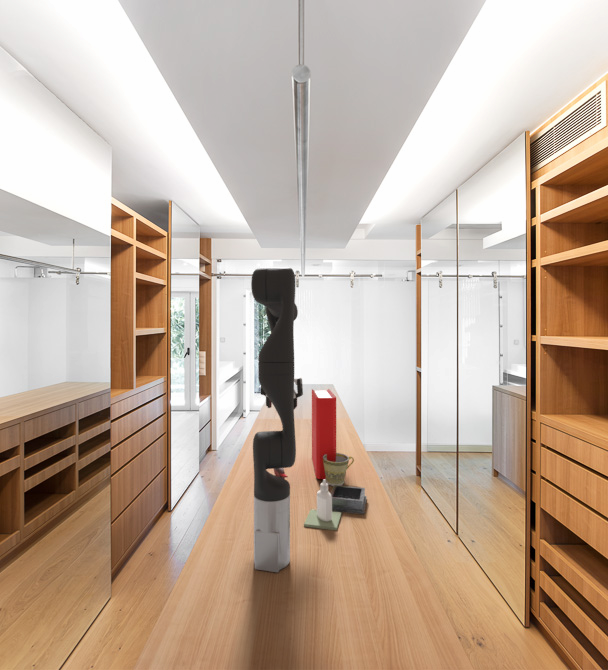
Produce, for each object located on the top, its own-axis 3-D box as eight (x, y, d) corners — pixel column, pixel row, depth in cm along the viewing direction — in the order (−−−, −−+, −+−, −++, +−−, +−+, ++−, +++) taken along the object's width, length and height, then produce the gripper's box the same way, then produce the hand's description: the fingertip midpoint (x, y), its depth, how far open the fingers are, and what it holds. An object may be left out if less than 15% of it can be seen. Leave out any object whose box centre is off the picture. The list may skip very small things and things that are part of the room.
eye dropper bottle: (318, 522, 119) (318, 483, 119) (316, 514, 124) (316, 476, 124) (332, 522, 119) (332, 483, 119) (330, 513, 125) (330, 476, 125)
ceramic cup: (329, 490, 145) (330, 463, 145) (318, 479, 154) (318, 454, 154) (359, 484, 150) (360, 459, 150) (346, 474, 159) (347, 450, 159)
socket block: (363, 514, 126) (363, 502, 126) (327, 510, 129) (327, 498, 129) (366, 498, 138) (366, 487, 138) (332, 495, 140) (332, 484, 140)
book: (311, 458, 181) (311, 388, 182) (329, 457, 182) (328, 388, 182) (316, 479, 154) (316, 397, 154) (336, 478, 154) (336, 397, 155)
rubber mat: (336, 530, 116) (336, 527, 116) (303, 526, 118) (303, 523, 118) (341, 514, 126) (341, 512, 126) (310, 511, 128) (310, 509, 128)
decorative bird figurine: (277, 476, 159) (277, 451, 159) (291, 493, 142) (291, 465, 142) (270, 477, 158) (270, 452, 158) (284, 494, 141) (284, 466, 141)
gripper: (257, 361, 130) (257, 409, 131) (299, 362, 127) (299, 411, 127) (265, 359, 137) (265, 405, 138) (304, 360, 134) (304, 407, 134)
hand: (281, 408), depth 133 cm, fingers open, 8 cm apart
